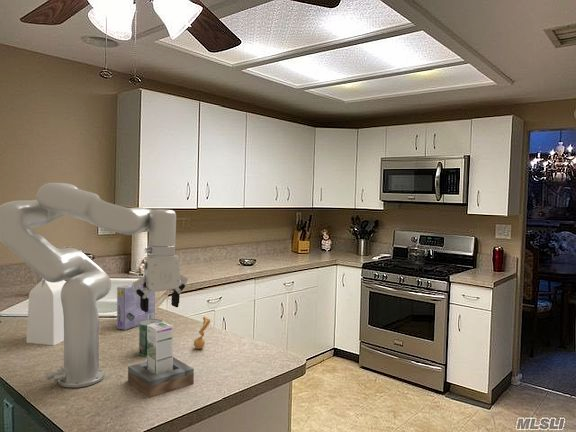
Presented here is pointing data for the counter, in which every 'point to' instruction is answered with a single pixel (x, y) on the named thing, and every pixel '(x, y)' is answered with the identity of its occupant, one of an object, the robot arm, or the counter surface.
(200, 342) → the figurine
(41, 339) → the milk
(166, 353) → the syrup box
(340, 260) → the counter surface
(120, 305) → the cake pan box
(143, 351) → the canned tomato
